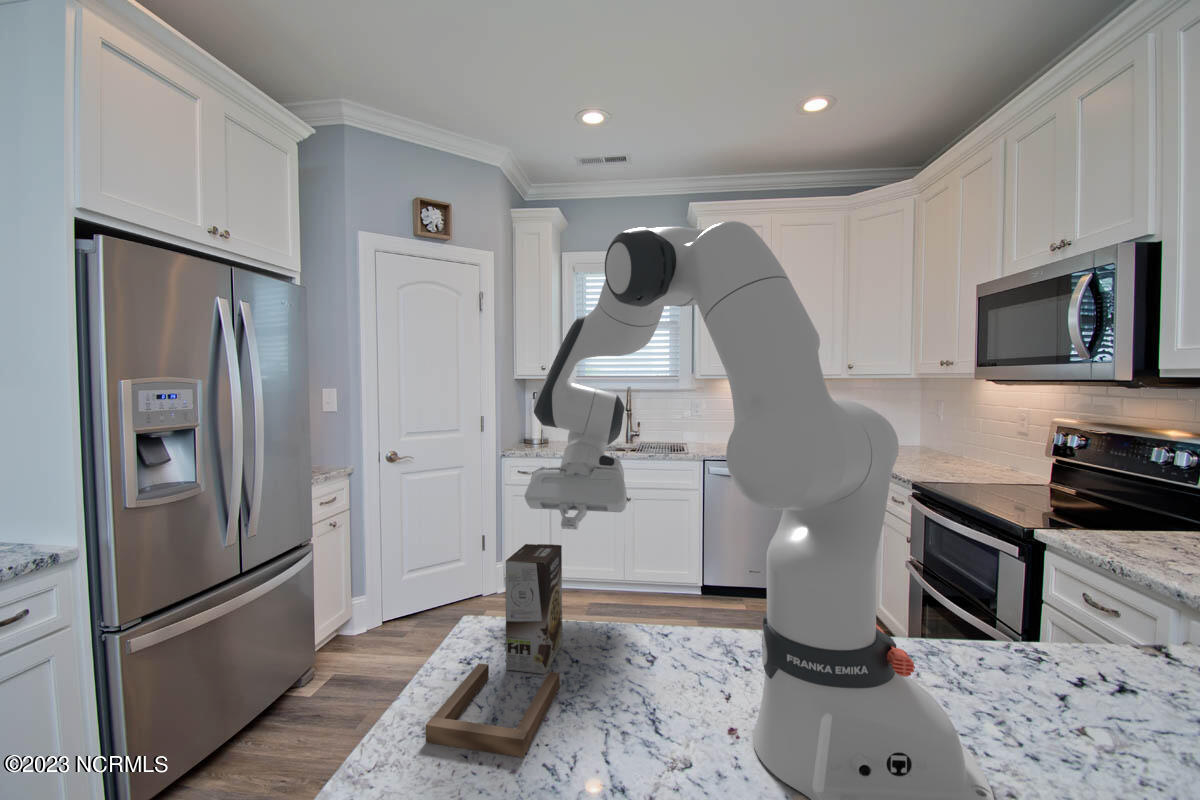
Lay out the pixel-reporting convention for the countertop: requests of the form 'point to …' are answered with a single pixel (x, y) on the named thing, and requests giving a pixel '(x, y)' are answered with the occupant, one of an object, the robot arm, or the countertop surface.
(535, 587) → the coffee box
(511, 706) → the countertop surface
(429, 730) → the walnut bay
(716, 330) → the robot arm
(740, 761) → the countertop surface
